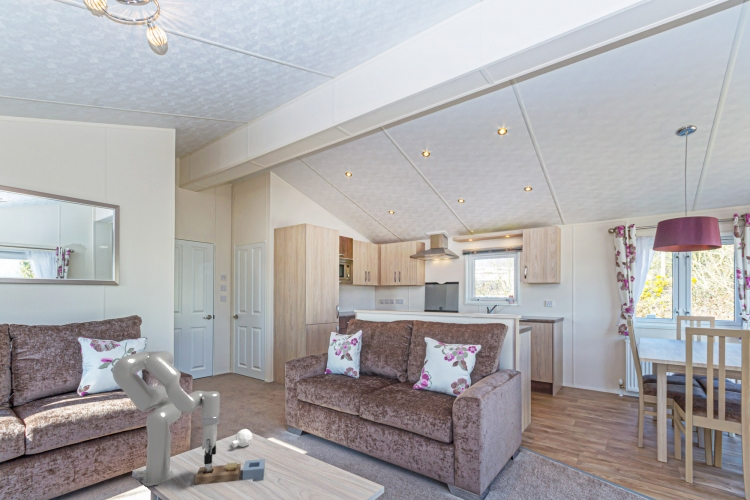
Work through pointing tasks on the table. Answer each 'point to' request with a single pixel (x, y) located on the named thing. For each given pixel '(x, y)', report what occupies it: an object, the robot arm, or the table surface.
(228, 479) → the socket block
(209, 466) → the steel peg
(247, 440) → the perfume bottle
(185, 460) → the table surface
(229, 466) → the key
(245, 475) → the blue square hole block
